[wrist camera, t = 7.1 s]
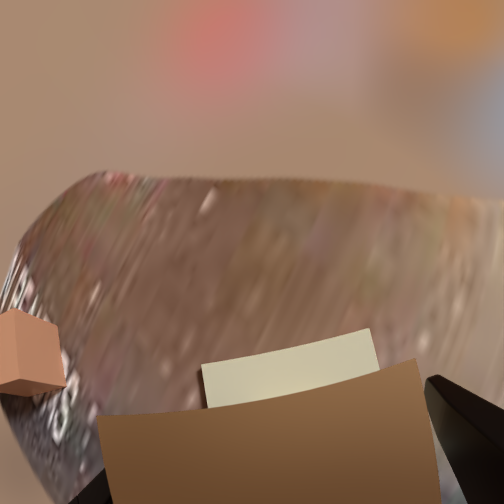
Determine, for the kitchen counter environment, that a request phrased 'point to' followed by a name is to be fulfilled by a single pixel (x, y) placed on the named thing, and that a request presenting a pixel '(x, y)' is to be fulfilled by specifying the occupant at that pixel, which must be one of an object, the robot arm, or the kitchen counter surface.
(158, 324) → the kitchen counter surface
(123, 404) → the kitchen counter surface
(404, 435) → the brown block
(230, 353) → the kitchen counter surface
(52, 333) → the terracotta block
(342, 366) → the pad
